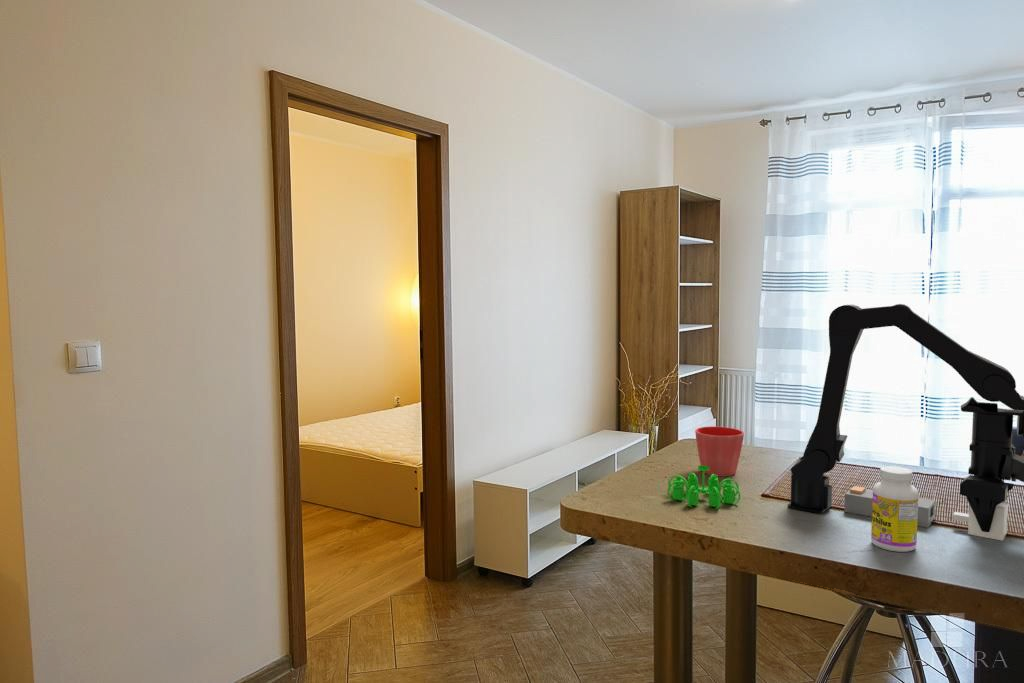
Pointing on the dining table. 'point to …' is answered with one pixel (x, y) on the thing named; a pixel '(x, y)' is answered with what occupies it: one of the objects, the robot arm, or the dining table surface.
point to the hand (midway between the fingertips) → (987, 527)
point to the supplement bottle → (895, 510)
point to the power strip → (862, 500)
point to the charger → (997, 526)
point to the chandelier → (703, 489)
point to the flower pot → (719, 449)
